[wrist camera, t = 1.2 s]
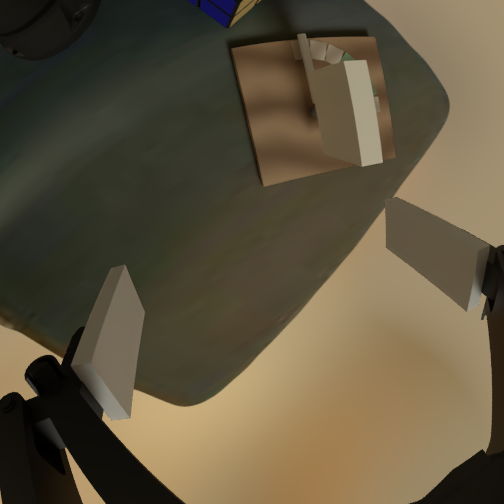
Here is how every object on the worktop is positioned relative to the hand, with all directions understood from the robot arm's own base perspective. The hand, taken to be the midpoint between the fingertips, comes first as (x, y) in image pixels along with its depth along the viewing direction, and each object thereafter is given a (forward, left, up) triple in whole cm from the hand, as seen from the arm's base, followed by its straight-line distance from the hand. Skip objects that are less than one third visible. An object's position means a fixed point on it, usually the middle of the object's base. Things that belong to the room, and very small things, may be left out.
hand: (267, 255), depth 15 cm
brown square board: (-6, +15, -26) cm, 31 cm away
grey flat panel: (-7, +13, -25) cm, 29 cm away
